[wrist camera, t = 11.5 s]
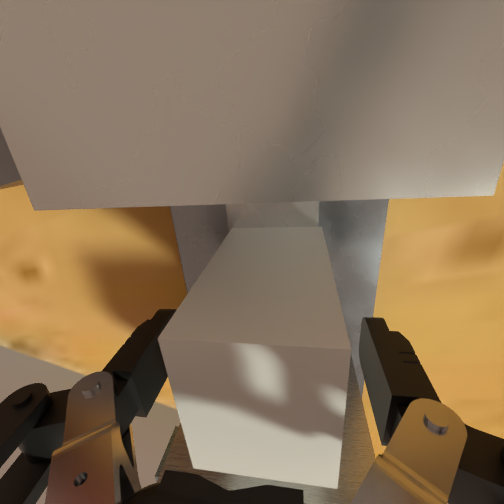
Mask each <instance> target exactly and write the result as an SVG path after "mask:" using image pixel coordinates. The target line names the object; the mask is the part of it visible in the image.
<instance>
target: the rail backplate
mask: <svg viewBox="0 0 504 504" xmlns="http://www.w3.org/2000/svg"><path fill="white" fill-rule="evenodd" d="M0 128H1V130H2V133H3V135H4V137H5V140H6V142H7V145H8V147H9V150H10V152H11V155H12V157H13V159H14V162H15V164H16V167H17V169H18V172H19V174H20V177H21V179H22V181H23V184H24V186H25V189H26V191H27V194H28V196H29V198H30V201H31V203H32V206H33V208H34V210H63V209H94V208H124V207H155V206H170V209H171V214H172V219H173V224H174V229H175V234H176V239H177V244H178V249H179V254H180V259H181V264H182V269H183V274H184V279H185V284H186V289H187V294H188V292H189V291H190V290H191V288H192V287H193V285H194V284H195V282H196V281H197V279H198V278H199V276H200V275H201V273H202V272H203V270H204V269H205V267H206V266H207V264H208V263H209V261H210V260H211V258H212V257H213V255H214V254H215V252H216V251H217V249H218V248H219V246H220V245H221V243H222V242H223V240H224V239H225V237H226V236H227V234H228V233H229V232H230V230H231V229H232V228H266V227H319V226H322V229H323V233H324V237H325V241H326V246H327V250H328V254H329V258H330V262H331V266H332V271H333V275H334V279H335V283H336V287H337V292H338V296H339V300H340V304H341V308H342V313H343V317H344V321H345V325H346V329H347V334H348V338H349V342H350V346H351V357H350V368H349V378H348V388H347V398H346V408H345V418H344V428H343V438H342V448H341V458H340V468H339V478H338V488H337V489H334V488H327V487H320V486H313V485H306V484H299V483H292V482H285V481H278V480H271V479H264V478H257V477H250V476H243V475H236V474H229V473H222V472H215V471H208V470H201V469H194V468H193V465H192V461H191V458H190V454H189V451H188V447H187V443H186V440H185V436H184V432H183V429H182V425H181V423H180V426H179V427H177V426H176V427H175V429H174V431H173V434H172V436H171V438H170V441H169V443H168V446H167V448H166V450H165V453H164V455H163V458H162V460H161V463H160V465H159V468H158V470H157V472H156V475H155V478H156V481H157V483H158V482H161V479H162V477H163V474H164V472H165V470H172V471H179V472H186V473H192V474H198V475H199V476H201V477H203V478H205V479H207V480H209V481H211V482H213V483H215V484H217V485H219V486H221V487H222V488H224V489H227V490H238V489H244V488H250V487H256V486H261V485H274V486H280V487H287V488H294V489H301V490H303V493H304V503H306V504H351V502H352V500H353V498H354V496H355V495H356V493H357V491H358V489H359V487H360V486H361V484H362V482H363V480H364V478H365V477H366V475H367V473H368V471H369V469H370V467H371V466H372V464H373V462H374V460H375V459H376V458H375V454H374V450H373V446H372V441H371V437H370V433H369V428H368V424H367V420H366V415H365V411H364V407H363V403H362V393H363V385H364V375H363V372H362V368H361V364H360V359H359V340H360V331H361V323H362V318H363V317H373V311H374V304H375V297H376V289H377V282H378V275H379V267H380V260H381V252H382V245H383V238H384V230H385V223H386V215H387V208H388V201H389V199H400V198H431V197H461V196H492V195H494V192H495V189H496V185H497V182H498V179H499V175H500V172H501V168H502V165H503V161H504V0H0Z"/></svg>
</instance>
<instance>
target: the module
mask: <svg viewBox="0 0 504 504" xmlns="http://www.w3.org/2000/svg"><path fill="white" fill-rule="evenodd" d="M158 342H159V345H160V349H161V353H162V356H163V360H164V364H165V367H166V371H167V374H168V378H169V382H170V385H171V389H172V393H173V396H174V400H175V403H176V407H177V411H178V414H179V418H180V422H181V425H182V429H183V432H184V436H185V440H186V443H187V447H188V451H189V454H190V458H191V461H192V465H193V468H194V469H201V470H208V471H215V472H222V473H229V474H236V475H243V476H250V477H257V478H264V479H271V480H278V481H285V482H292V483H299V484H306V485H313V486H320V487H327V488H334V489H337V488H338V478H339V468H340V458H341V448H342V438H343V428H344V418H345V408H346V398H347V388H348V378H349V368H350V357H351V346H350V342H349V338H348V334H347V329H346V325H345V321H344V317H343V313H342V308H341V304H340V300H339V296H338V292H337V287H336V283H335V279H334V275H333V271H332V266H331V262H330V258H329V254H328V250H327V246H326V241H325V237H324V233H323V229H322V226H319V227H266V228H232V229H231V230H230V232H229V233H228V234H227V236H226V237H225V239H224V240H223V242H222V243H221V245H220V246H219V248H218V249H217V251H216V252H215V254H214V255H213V257H212V258H211V260H210V261H209V263H208V264H207V266H206V267H205V269H204V270H203V272H202V273H201V275H200V276H199V278H198V279H197V281H196V282H195V284H194V285H193V287H192V288H191V290H190V291H189V292H188V294H187V295H186V297H185V298H184V300H183V301H182V303H181V304H180V306H179V307H178V309H177V310H176V312H175V313H174V315H173V316H172V318H171V319H170V321H169V322H168V324H167V325H166V327H165V328H164V330H163V331H162V333H161V334H160V336H159V337H158Z"/></svg>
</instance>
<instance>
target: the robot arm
mask: <svg viewBox="0 0 504 504" xmlns="http://www.w3.org/2000/svg"><path fill="white" fill-rule="evenodd" d="M175 312H176V309H159V310H158V311H157V313H156V314H155V315H154V316H153V318H152V319H151V320H147V321H145V322H144V323H142V324H141V325H140V326H138V327H137V328H136V330H135V331H134V332H133V333H132V335H131V337H129V338H128V339H127V341H126V342H125V345H123V346H122V347H121V348H120V349H119V351H118V352H117V353H116V354H115V355H114V357H113V358H112V359H111V360H110V362H109V363H108V364H107V365H106V367H105V368H104V369H103V370H102V371H101V372H95V373H92V374H90V375H87V376H86V377H84V378H82V379H81V380H80V381H78V382H77V383H76V384H75V385H74V386H73V387H72V389H68V390H63V391H58V392H53V393H49V391H48V389H47V387H46V385H44V384H42V383H34V384H31V385H27V386H25V387H22V388H20V389H18V390H17V391H15V392H13V393H12V394H11V395H9V396H8V397H7V398H6V399H5V400H4V401H3V402H2V403H0V468H1V466H2V465H3V464H4V463H5V462H6V460H7V459H8V458H9V457H10V455H11V454H12V453H13V452H14V451H15V450H16V448H17V447H19V448H20V450H21V451H22V453H21V454H20V455H19V457H18V458H17V459H16V460H15V462H14V463H13V464H12V465H11V467H10V468H9V469H8V470H7V472H6V473H5V474H4V475H3V477H2V478H1V479H0V504H36V502H37V500H38V499H39V498H40V496H41V495H42V493H43V492H44V490H45V488H46V487H47V492H46V499H45V504H306V503H304V493H303V490H301V489H294V488H287V487H280V486H274V485H261V486H256V487H250V488H244V489H238V490H227V489H224V488H222V487H221V486H219V485H217V484H215V483H213V482H211V481H209V480H207V479H205V478H203V477H201V476H199V475H198V474H192V473H186V472H179V471H172V470H165V472H164V474H163V477H162V479H161V482H158V483H155V484H152V485H149V486H147V487H144V488H142V489H141V485H140V482H139V478H138V472H137V464H136V456H135V448H134V440H133V432H132V426H131V422H132V420H133V419H134V417H135V416H140V417H147V415H148V413H149V411H150V409H151V407H152V405H153V403H154V402H155V400H156V398H157V396H158V394H159V392H160V390H161V388H162V386H163V385H164V383H165V381H166V379H167V377H168V374H167V371H166V367H165V364H164V360H163V356H162V353H161V349H160V345H159V342H158V337H159V336H160V334H161V333H162V331H163V330H164V328H165V327H166V325H167V324H168V322H169V321H170V319H171V318H172V316H173V315H174V313H175ZM359 359H360V364H361V368H362V372H363V375H364V379H365V383H366V387H367V391H368V394H369V398H370V402H371V406H372V410H373V413H374V417H375V421H376V425H377V429H378V432H379V436H380V440H381V444H382V445H384V446H387V447H386V449H385V451H384V453H383V454H382V455H380V454H379V455H378V456H377V457H376V459H375V460H374V462H373V464H372V466H371V467H370V469H369V471H368V473H367V475H366V477H365V478H364V480H363V482H362V484H361V486H360V487H359V489H358V491H357V493H356V495H355V496H354V498H353V500H352V502H351V504H447V503H448V504H504V439H502V438H499V437H496V436H494V435H491V434H488V433H485V432H482V431H479V430H477V429H474V428H472V427H470V426H468V425H466V424H464V423H463V421H462V420H461V418H460V417H459V416H458V415H457V414H456V413H455V412H454V411H453V410H451V409H450V408H449V407H447V406H446V405H444V404H442V403H441V401H440V400H439V398H438V396H437V394H436V392H435V390H434V388H433V386H432V384H431V382H430V380H429V378H428V376H427V375H426V373H425V371H424V369H423V367H422V365H421V364H420V361H419V359H418V357H417V355H415V351H414V350H413V348H412V346H411V344H410V342H409V341H408V340H407V339H406V338H405V337H404V336H403V335H402V334H401V333H399V332H396V331H389V329H388V327H387V324H386V322H385V320H384V319H383V318H374V317H363V318H362V323H361V331H360V340H359Z"/></svg>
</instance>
